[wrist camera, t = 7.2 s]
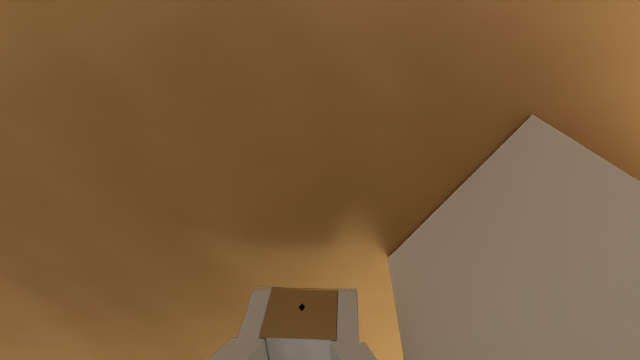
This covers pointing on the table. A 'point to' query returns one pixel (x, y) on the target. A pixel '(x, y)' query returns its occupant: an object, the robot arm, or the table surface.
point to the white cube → (526, 259)
